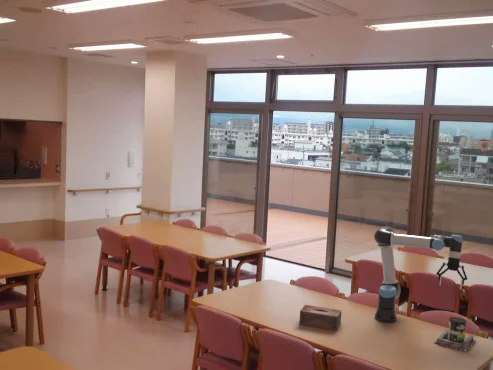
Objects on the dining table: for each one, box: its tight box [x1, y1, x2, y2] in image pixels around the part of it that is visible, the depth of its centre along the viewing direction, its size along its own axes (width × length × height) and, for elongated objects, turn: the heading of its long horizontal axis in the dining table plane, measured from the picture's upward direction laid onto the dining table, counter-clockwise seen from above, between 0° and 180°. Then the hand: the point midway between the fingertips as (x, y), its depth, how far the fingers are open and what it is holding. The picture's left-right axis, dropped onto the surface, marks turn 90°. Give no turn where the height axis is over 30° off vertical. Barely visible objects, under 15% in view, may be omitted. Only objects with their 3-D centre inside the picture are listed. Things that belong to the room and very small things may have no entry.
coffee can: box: [447, 316, 467, 344], centre depth 347 cm, size 10×10×14 cm
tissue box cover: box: [298, 304, 343, 332], centre depth 369 cm, size 26×14×10 cm, turn 70°
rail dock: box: [434, 328, 476, 352], centre depth 348 cm, size 20×22×4 cm
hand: (450, 287), depth 375 cm, fingers open, 13 cm apart
